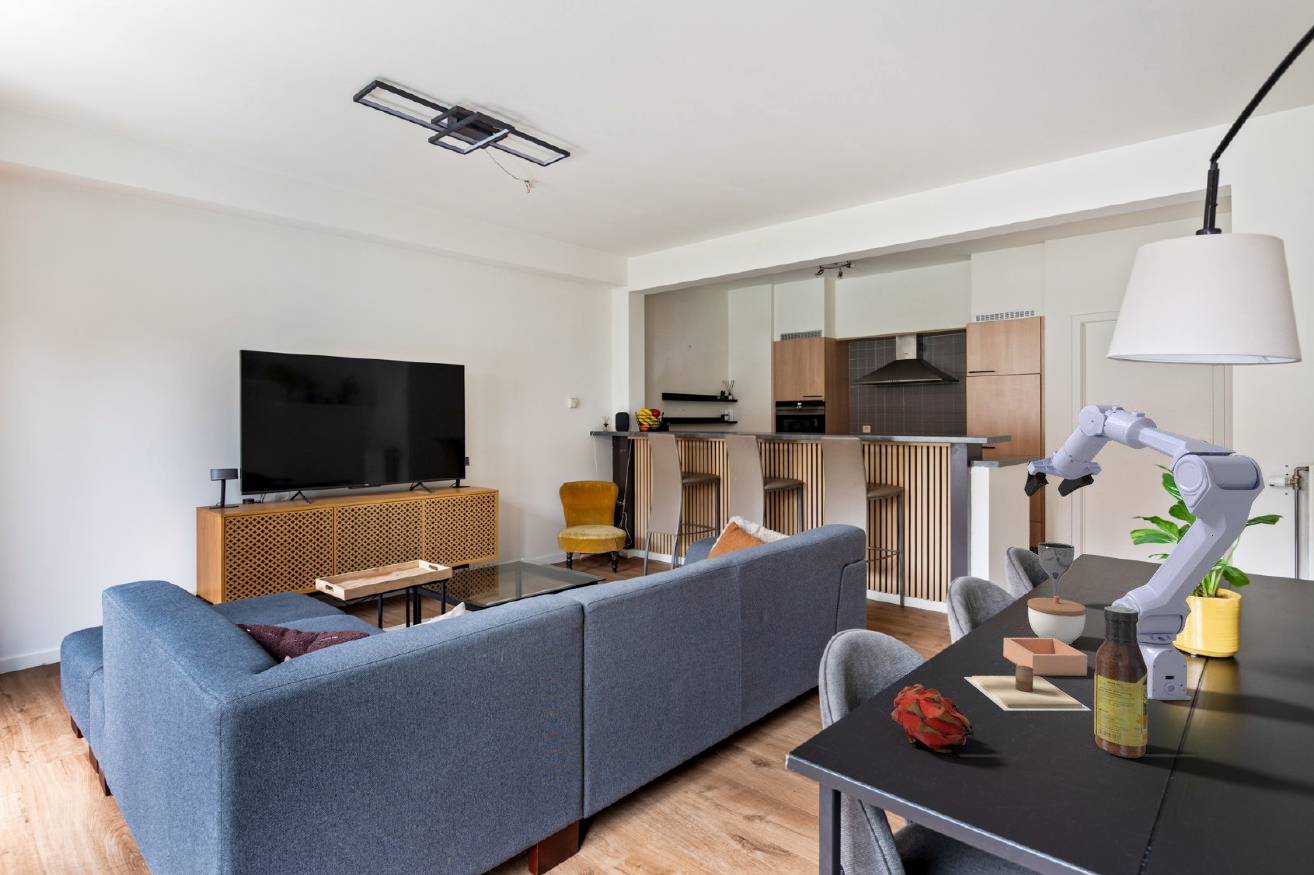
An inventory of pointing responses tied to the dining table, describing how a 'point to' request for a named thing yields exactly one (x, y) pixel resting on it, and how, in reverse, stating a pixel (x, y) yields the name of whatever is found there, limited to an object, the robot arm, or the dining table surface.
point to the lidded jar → (1056, 618)
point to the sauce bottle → (1121, 687)
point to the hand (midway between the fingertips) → (1044, 492)
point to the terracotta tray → (1045, 656)
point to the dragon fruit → (930, 718)
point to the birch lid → (1025, 690)
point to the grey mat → (1022, 708)
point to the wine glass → (1055, 560)
